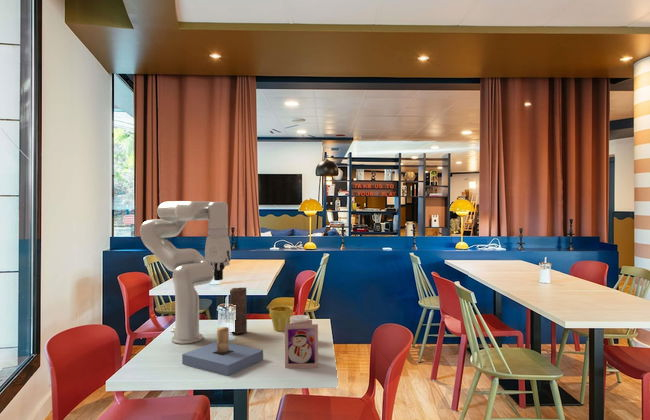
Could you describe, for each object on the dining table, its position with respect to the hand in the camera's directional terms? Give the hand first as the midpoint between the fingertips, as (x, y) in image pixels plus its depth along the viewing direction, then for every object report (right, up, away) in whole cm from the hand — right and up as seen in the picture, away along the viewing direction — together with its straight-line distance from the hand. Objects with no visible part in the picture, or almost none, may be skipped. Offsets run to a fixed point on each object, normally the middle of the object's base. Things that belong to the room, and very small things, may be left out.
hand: (218, 279), depth 174 cm
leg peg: (+5, -27, -15) cm, 31 cm away
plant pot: (+22, -27, +27) cm, 44 cm away
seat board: (+5, -27, -15) cm, 31 cm away
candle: (+4, -27, +21) cm, 35 cm away
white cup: (+31, -27, +9) cm, 42 cm away
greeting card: (+34, -27, -18) cm, 47 cm away
